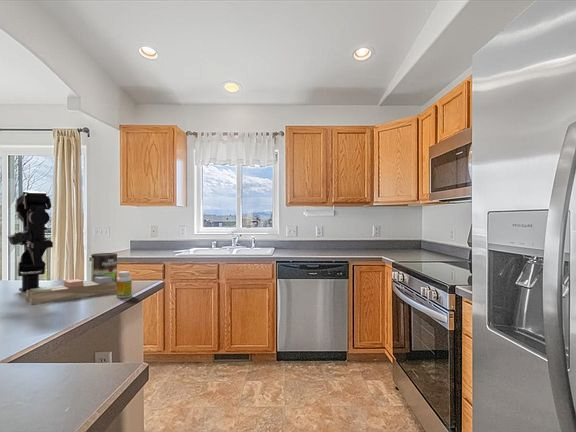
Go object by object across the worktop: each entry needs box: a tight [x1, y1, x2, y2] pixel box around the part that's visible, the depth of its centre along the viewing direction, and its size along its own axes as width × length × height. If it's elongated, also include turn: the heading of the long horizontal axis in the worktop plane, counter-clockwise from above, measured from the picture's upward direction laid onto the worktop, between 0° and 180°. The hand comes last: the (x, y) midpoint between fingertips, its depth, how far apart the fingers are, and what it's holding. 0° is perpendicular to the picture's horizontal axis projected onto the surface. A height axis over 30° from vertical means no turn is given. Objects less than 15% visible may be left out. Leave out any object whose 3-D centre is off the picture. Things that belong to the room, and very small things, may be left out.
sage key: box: [31, 286, 51, 293], centre depth 132 cm, size 5×5×4 cm
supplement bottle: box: [115, 270, 133, 299], centre depth 141 cm, size 5×5×10 cm
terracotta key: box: [63, 278, 84, 288], centre depth 140 cm, size 5×5×4 cm
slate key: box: [94, 276, 112, 284], centre depth 149 cm, size 5×5×4 cm
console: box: [25, 281, 116, 306], centre depth 140 cm, size 7×29×4 cm, turn 140°
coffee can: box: [90, 252, 118, 285], centre depth 159 cm, size 10×10×14 cm
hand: (35, 265), depth 139 cm, fingers closed
